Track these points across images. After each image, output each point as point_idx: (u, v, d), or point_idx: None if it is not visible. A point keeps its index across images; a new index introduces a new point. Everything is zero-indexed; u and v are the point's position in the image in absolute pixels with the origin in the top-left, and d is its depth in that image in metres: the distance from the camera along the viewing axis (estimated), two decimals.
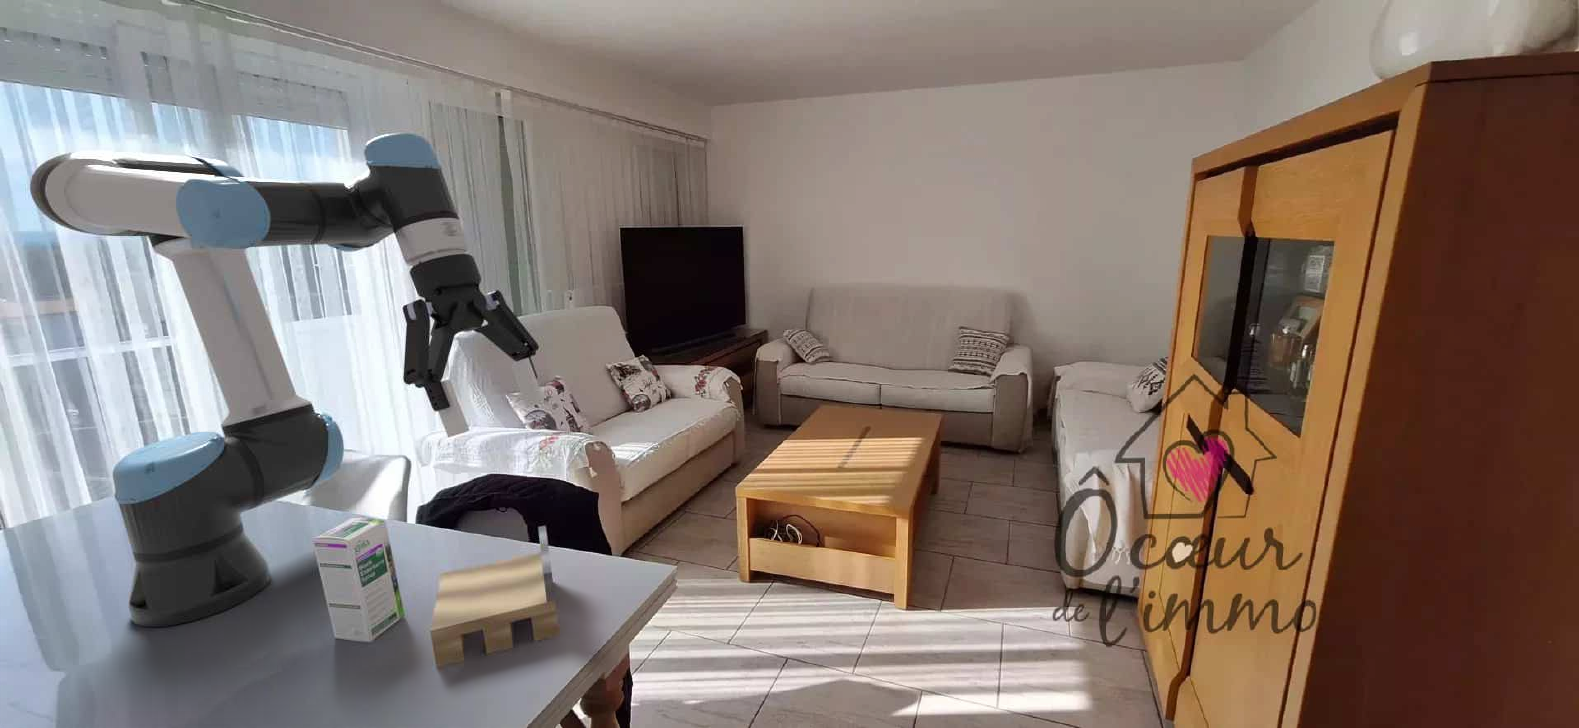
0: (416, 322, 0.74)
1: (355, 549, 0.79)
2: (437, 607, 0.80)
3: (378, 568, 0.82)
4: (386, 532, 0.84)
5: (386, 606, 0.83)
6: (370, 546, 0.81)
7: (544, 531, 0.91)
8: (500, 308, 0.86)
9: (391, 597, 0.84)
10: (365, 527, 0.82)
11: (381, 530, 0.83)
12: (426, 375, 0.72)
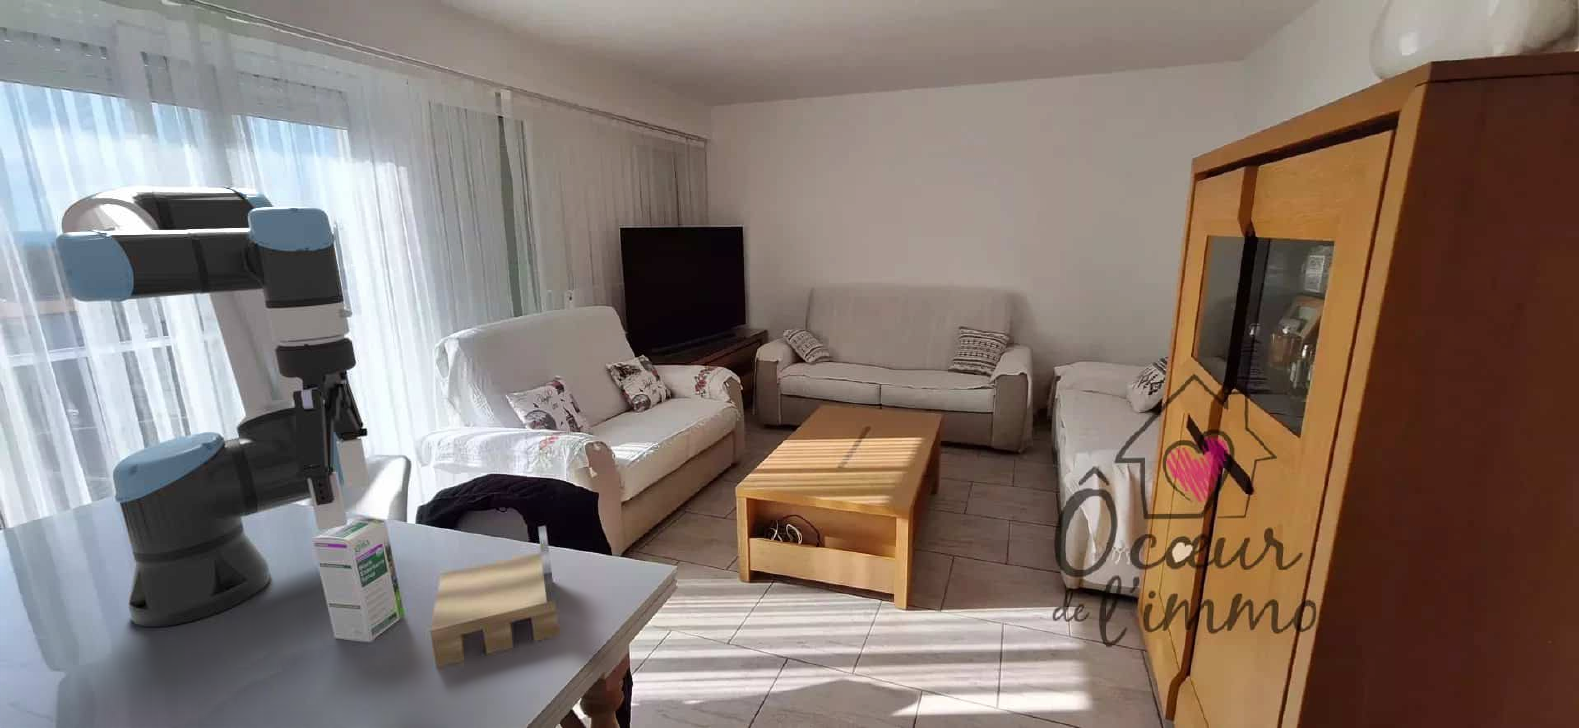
0: (314, 412, 0.71)
1: (355, 549, 0.79)
2: (437, 607, 0.80)
3: (378, 568, 0.82)
4: (386, 532, 0.84)
5: (386, 606, 0.83)
6: (370, 546, 0.81)
7: (544, 531, 0.91)
8: None
9: (391, 597, 0.84)
10: (365, 527, 0.82)
11: (381, 530, 0.83)
12: None
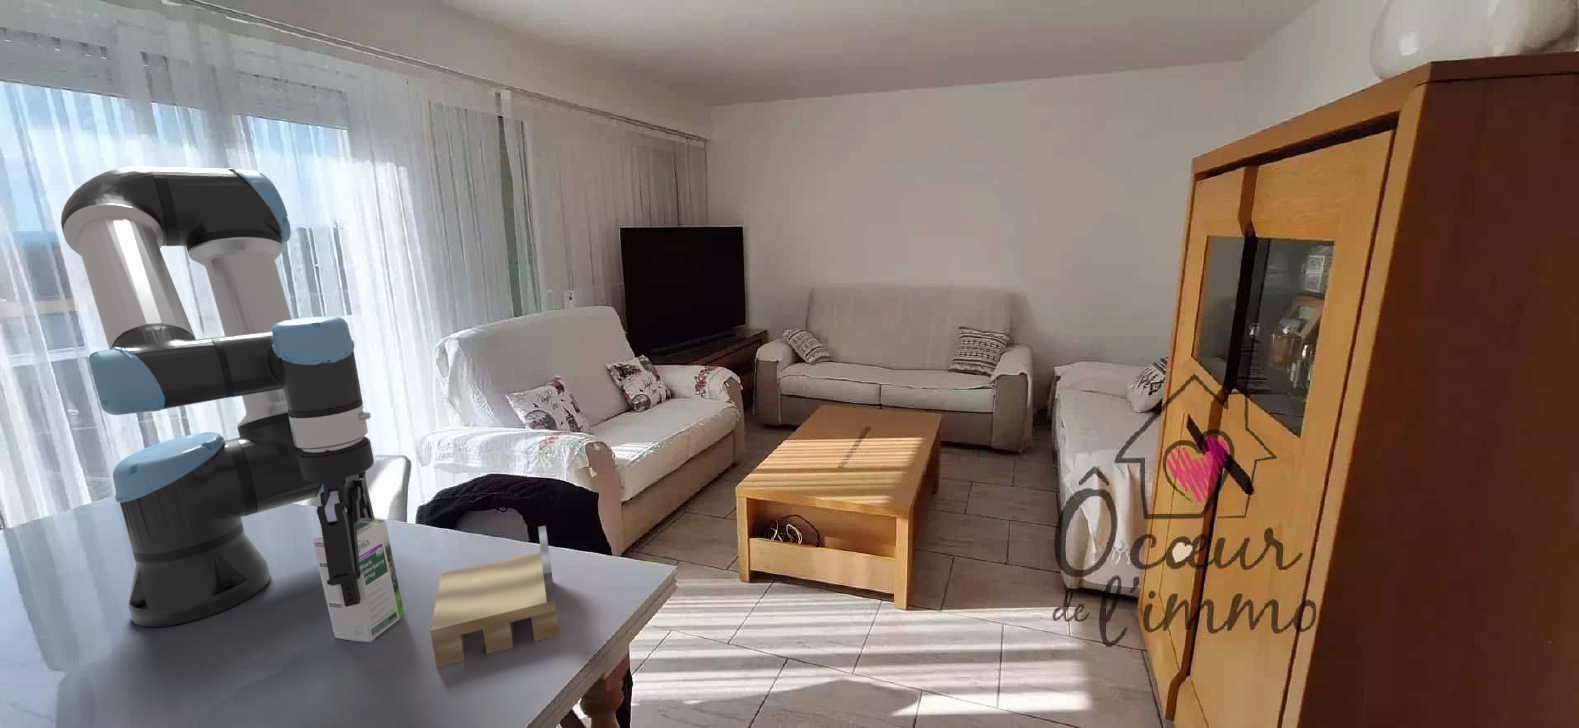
0: (338, 526, 0.75)
1: None
2: (437, 607, 0.80)
3: (378, 568, 0.82)
4: (386, 532, 0.84)
5: (386, 606, 0.83)
6: (370, 546, 0.81)
7: (544, 531, 0.91)
8: None
9: (391, 597, 0.84)
10: (366, 527, 0.81)
11: (381, 530, 0.83)
12: None
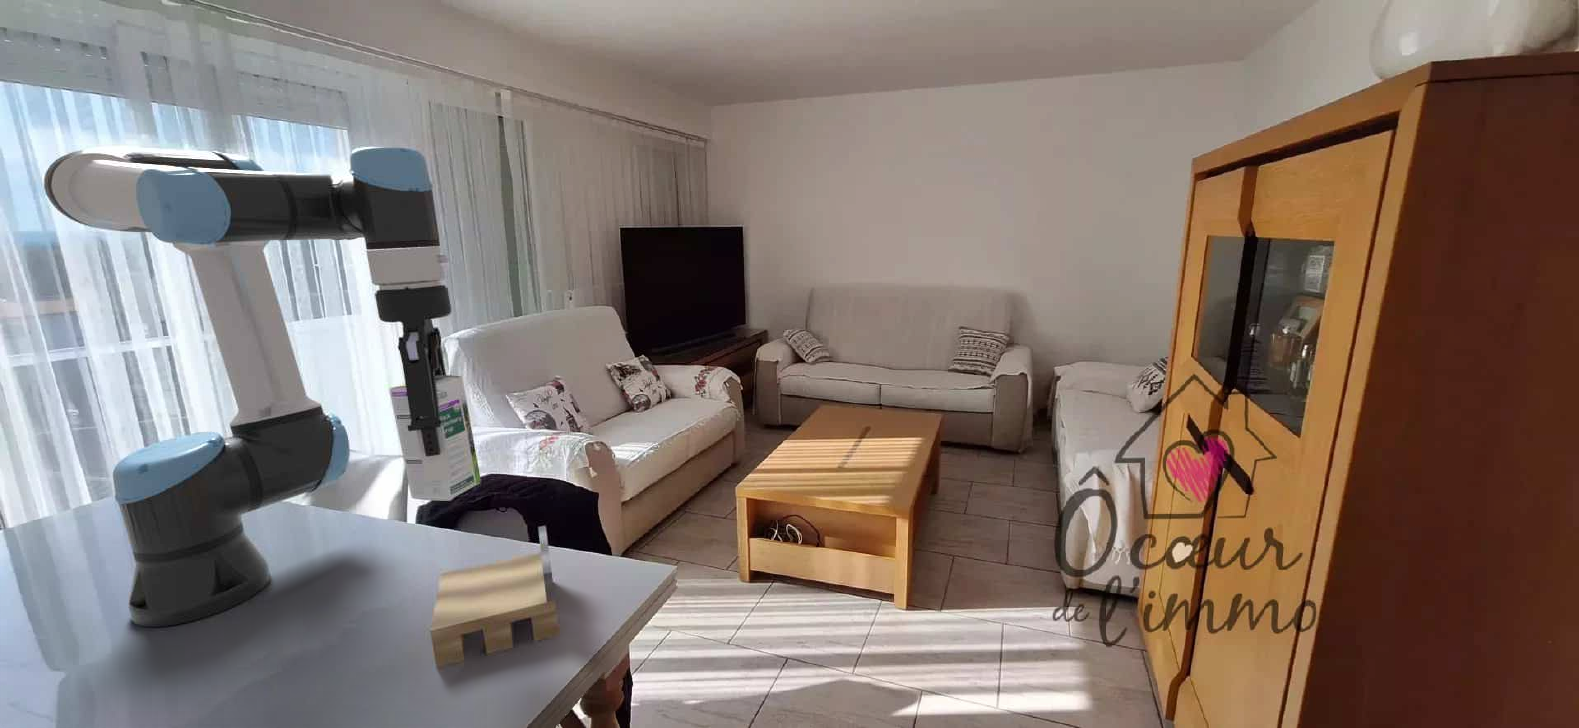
0: (420, 364, 0.71)
1: None
2: (437, 607, 0.80)
3: (456, 424, 0.78)
4: (463, 388, 0.80)
5: (464, 466, 0.79)
6: (448, 399, 0.77)
7: (544, 531, 0.91)
8: None
9: (468, 458, 0.80)
10: (443, 379, 0.77)
11: (458, 385, 0.79)
12: None
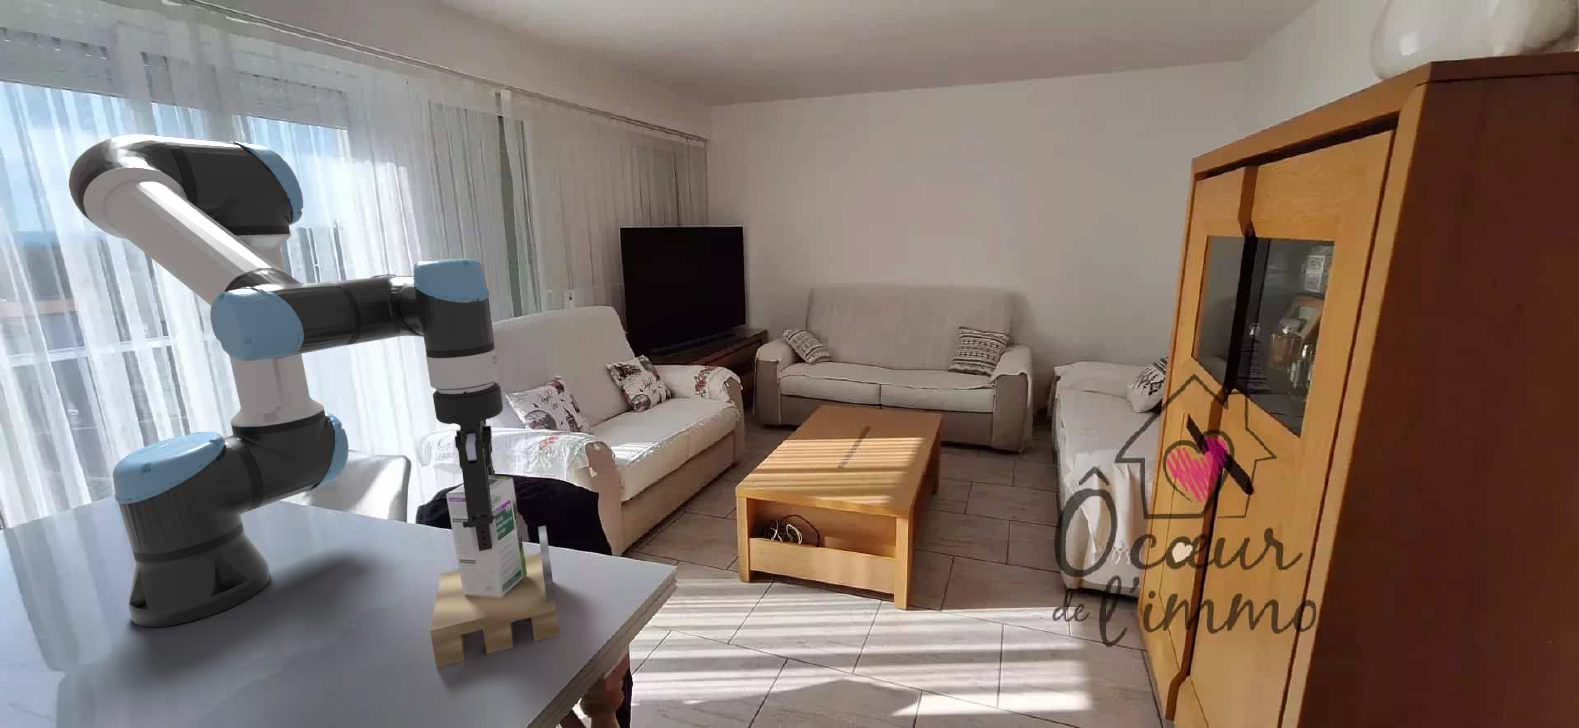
0: (477, 464, 0.74)
1: None
2: (437, 607, 0.80)
3: (507, 525, 0.82)
4: (513, 489, 0.84)
5: (513, 563, 0.83)
6: (501, 502, 0.81)
7: (544, 531, 0.91)
8: None
9: (517, 554, 0.84)
10: (496, 483, 0.81)
11: (509, 486, 0.83)
12: None
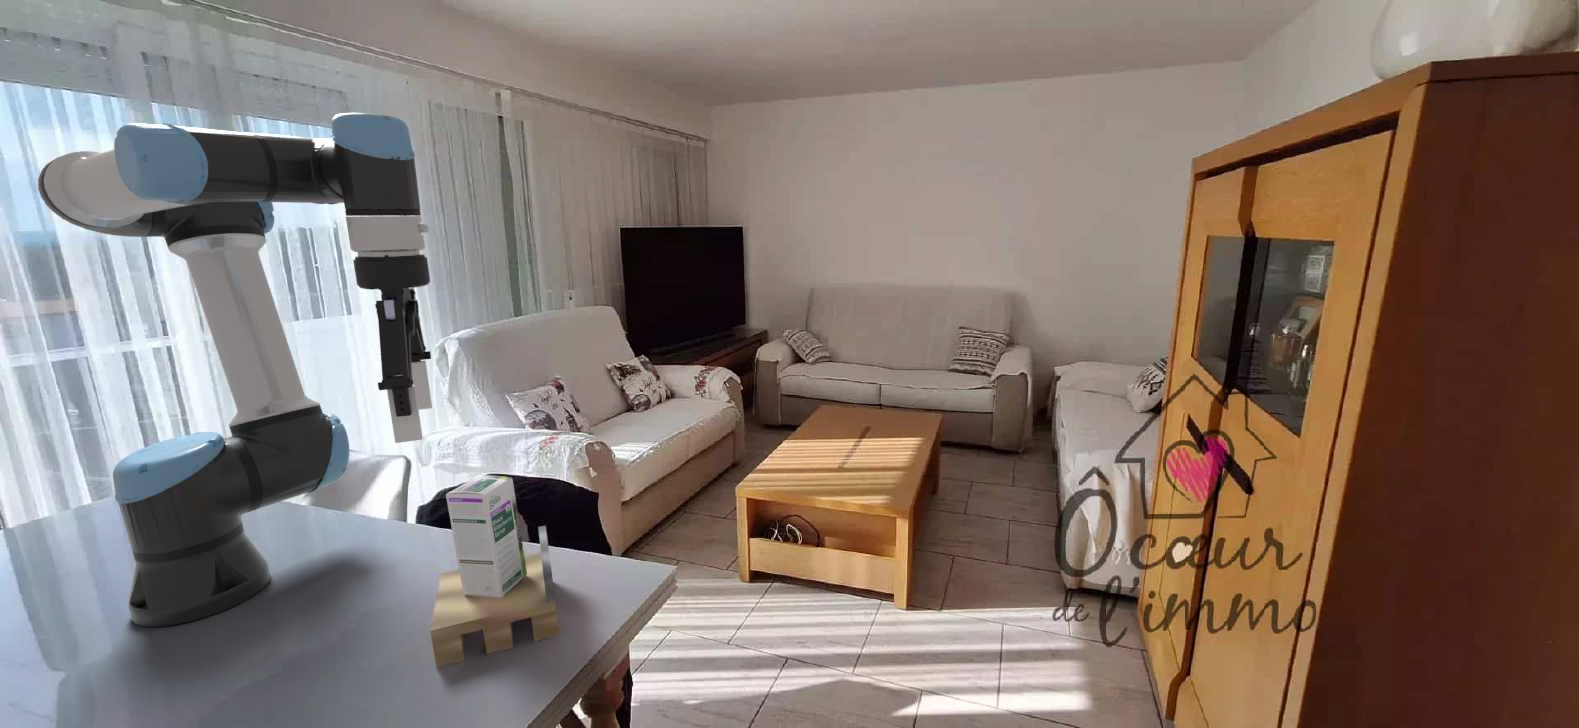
0: (396, 323, 0.71)
1: (490, 504, 0.79)
2: (437, 607, 0.80)
3: (507, 525, 0.82)
4: (513, 489, 0.84)
5: (513, 563, 0.83)
6: (501, 502, 0.81)
7: (544, 531, 0.91)
8: None
9: (517, 554, 0.84)
10: (496, 483, 0.81)
11: (509, 486, 0.83)
12: None
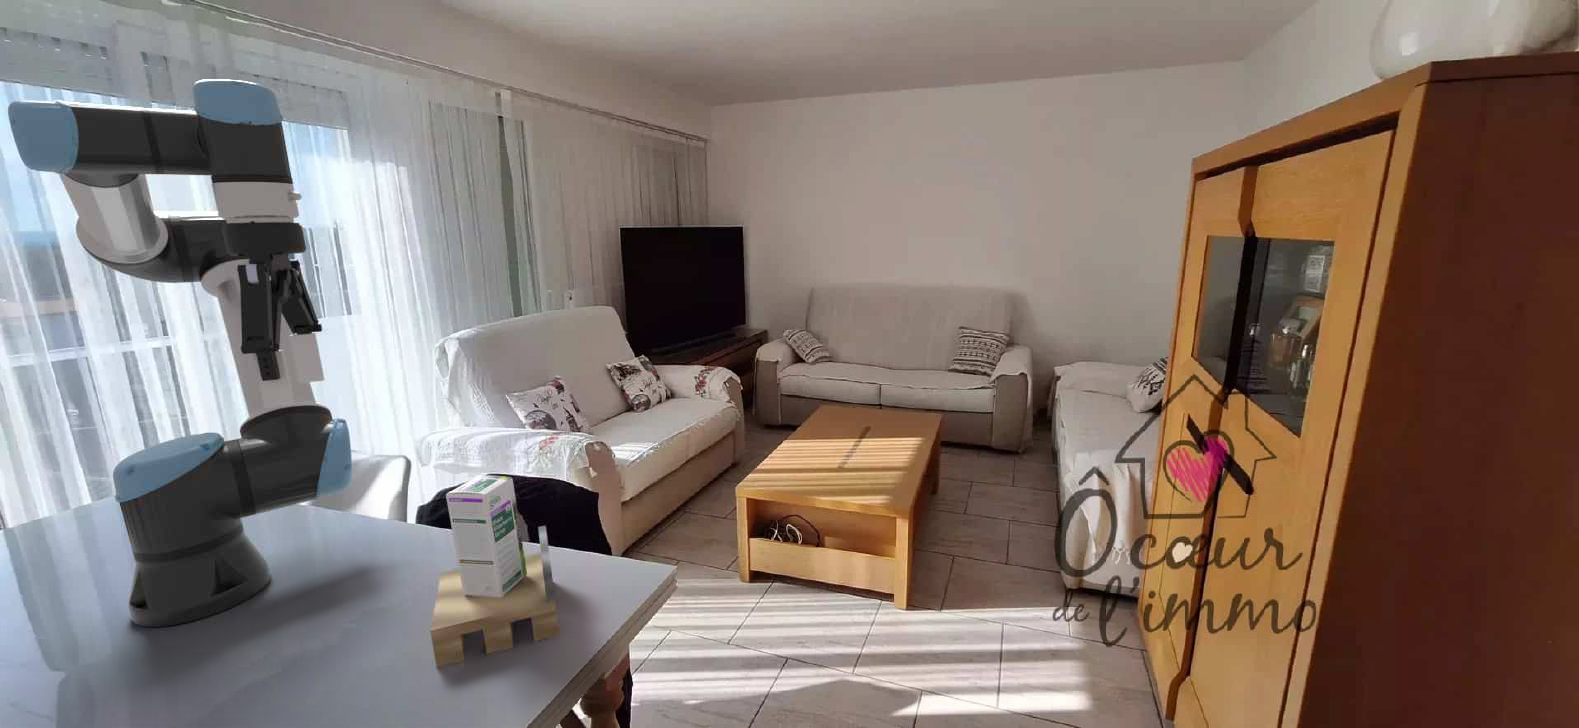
0: (259, 287, 0.71)
1: (490, 504, 0.79)
2: (437, 607, 0.80)
3: (507, 525, 0.82)
4: (513, 489, 0.84)
5: (513, 563, 0.83)
6: (501, 502, 0.81)
7: (544, 531, 0.91)
8: (297, 278, 0.83)
9: (517, 554, 0.84)
10: (496, 483, 0.81)
11: (509, 486, 0.83)
12: None
